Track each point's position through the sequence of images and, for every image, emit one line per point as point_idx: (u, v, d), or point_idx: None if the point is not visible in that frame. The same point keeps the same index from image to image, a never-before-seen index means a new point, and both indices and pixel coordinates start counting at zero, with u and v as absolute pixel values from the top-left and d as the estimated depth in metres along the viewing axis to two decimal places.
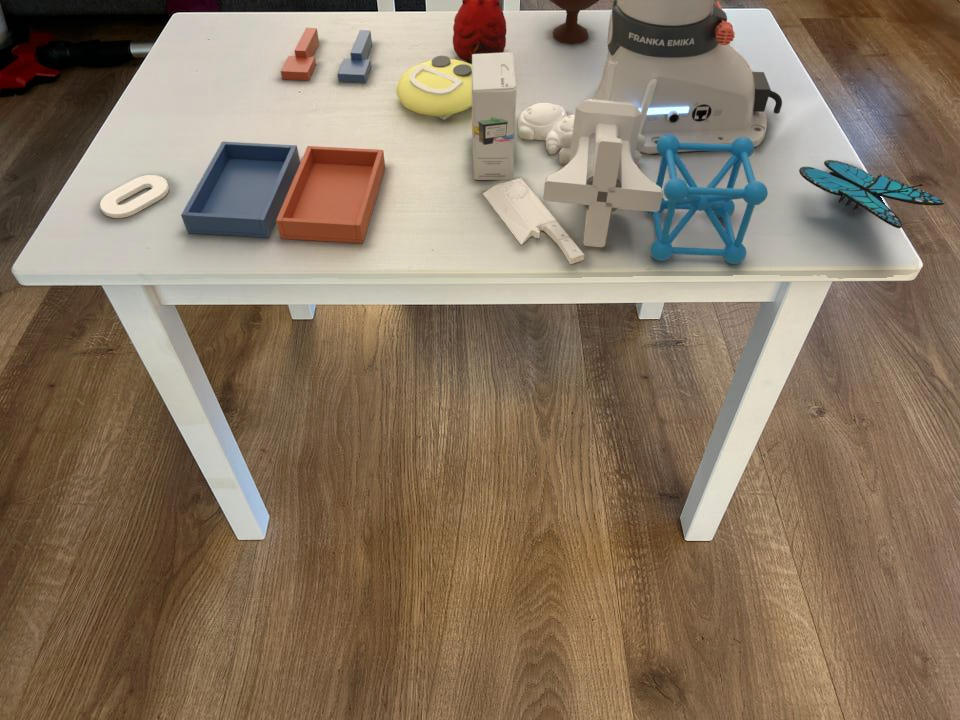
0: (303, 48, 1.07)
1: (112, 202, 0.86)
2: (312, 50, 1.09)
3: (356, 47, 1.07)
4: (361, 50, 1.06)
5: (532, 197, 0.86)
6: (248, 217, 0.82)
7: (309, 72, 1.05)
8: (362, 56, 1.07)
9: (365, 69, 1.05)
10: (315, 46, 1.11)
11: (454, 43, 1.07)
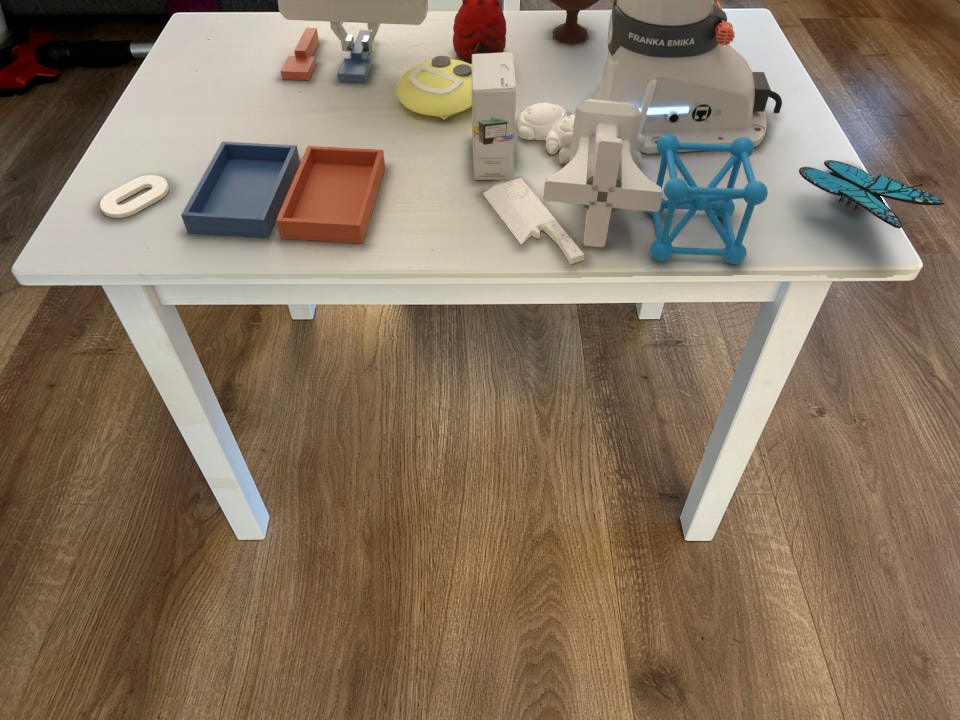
0: (303, 48, 1.07)
1: (112, 202, 0.86)
2: (312, 50, 1.09)
3: (356, 47, 1.07)
4: (361, 50, 1.06)
5: (532, 197, 0.86)
6: (248, 217, 0.82)
7: (309, 72, 1.05)
8: (362, 56, 1.07)
9: (365, 69, 1.05)
10: (315, 46, 1.11)
11: (454, 43, 1.07)
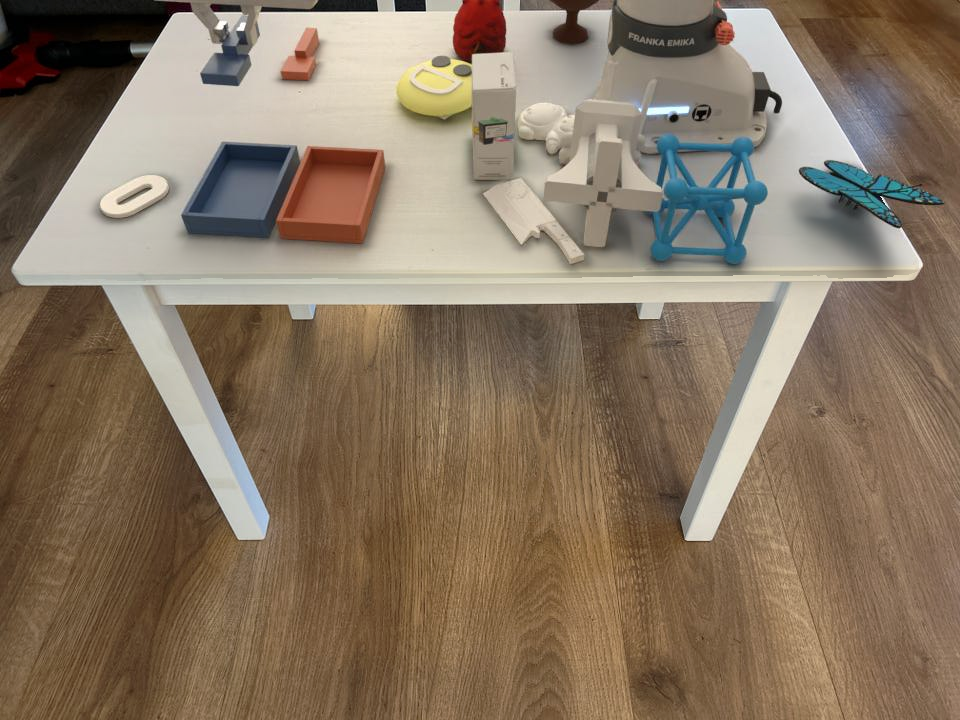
0: (303, 48, 1.07)
1: (112, 202, 0.86)
2: (312, 50, 1.09)
3: (231, 38, 0.80)
4: (237, 42, 0.79)
5: (532, 197, 0.86)
6: (248, 217, 0.82)
7: (309, 72, 1.05)
8: (238, 50, 0.79)
9: (239, 68, 0.77)
10: (315, 46, 1.11)
11: (454, 43, 1.07)
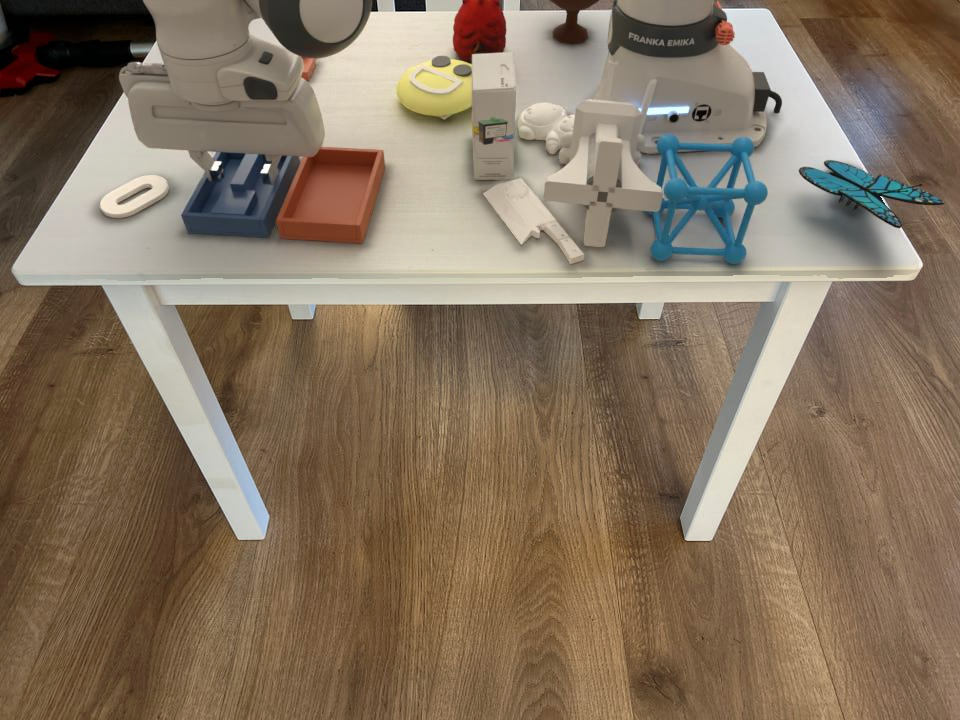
0: None
1: (112, 202, 0.86)
2: None
3: (238, 175, 0.86)
4: (244, 180, 0.86)
5: (532, 197, 0.86)
6: (248, 217, 0.82)
7: (309, 72, 1.05)
8: (245, 187, 0.86)
9: (246, 206, 0.84)
10: None
11: (454, 43, 1.07)
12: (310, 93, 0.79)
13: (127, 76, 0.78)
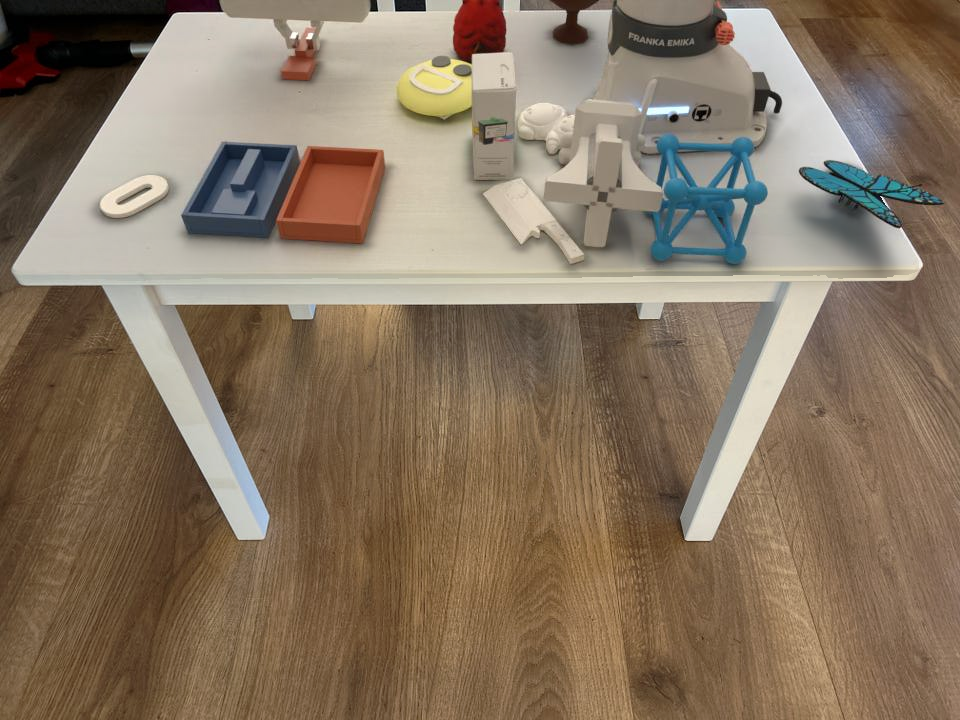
0: (303, 48, 1.07)
1: (112, 202, 0.86)
2: (312, 50, 1.09)
3: (238, 175, 0.86)
4: (244, 180, 0.86)
5: (532, 197, 0.86)
6: (248, 217, 0.82)
7: (309, 72, 1.05)
8: (245, 187, 0.86)
9: (246, 206, 0.84)
10: None
11: (454, 43, 1.07)
12: None
13: None
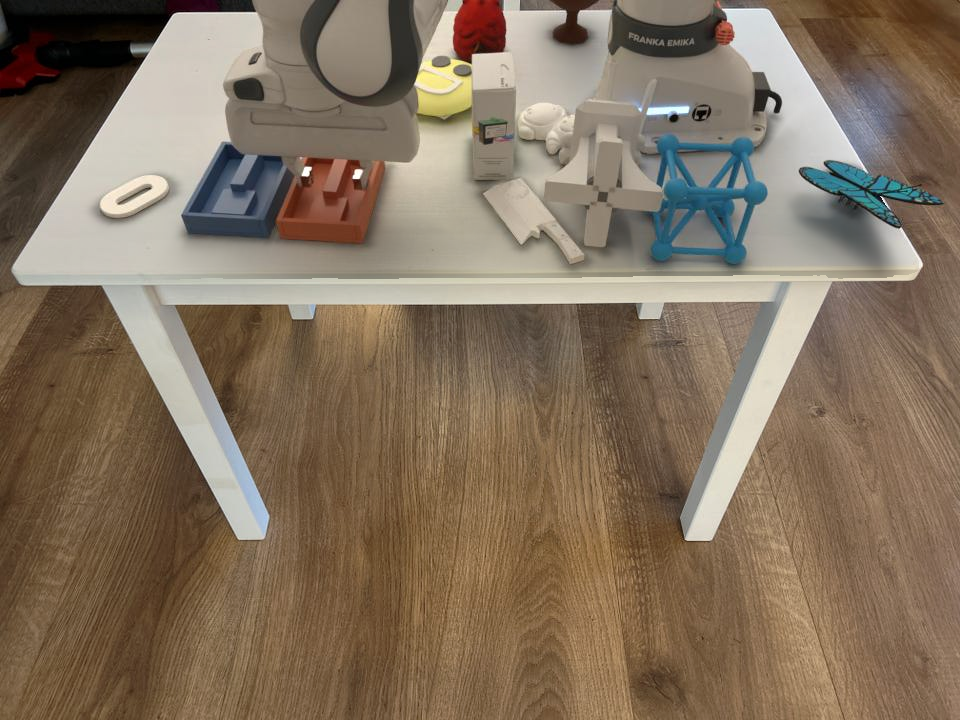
0: (333, 187, 0.85)
1: (112, 202, 0.86)
2: (343, 186, 0.87)
3: (238, 175, 0.86)
4: (244, 180, 0.86)
5: (532, 197, 0.86)
6: (248, 217, 0.82)
7: (341, 220, 0.83)
8: (245, 187, 0.86)
9: (246, 206, 0.84)
10: (347, 179, 0.89)
11: (454, 43, 1.07)
12: None
13: None
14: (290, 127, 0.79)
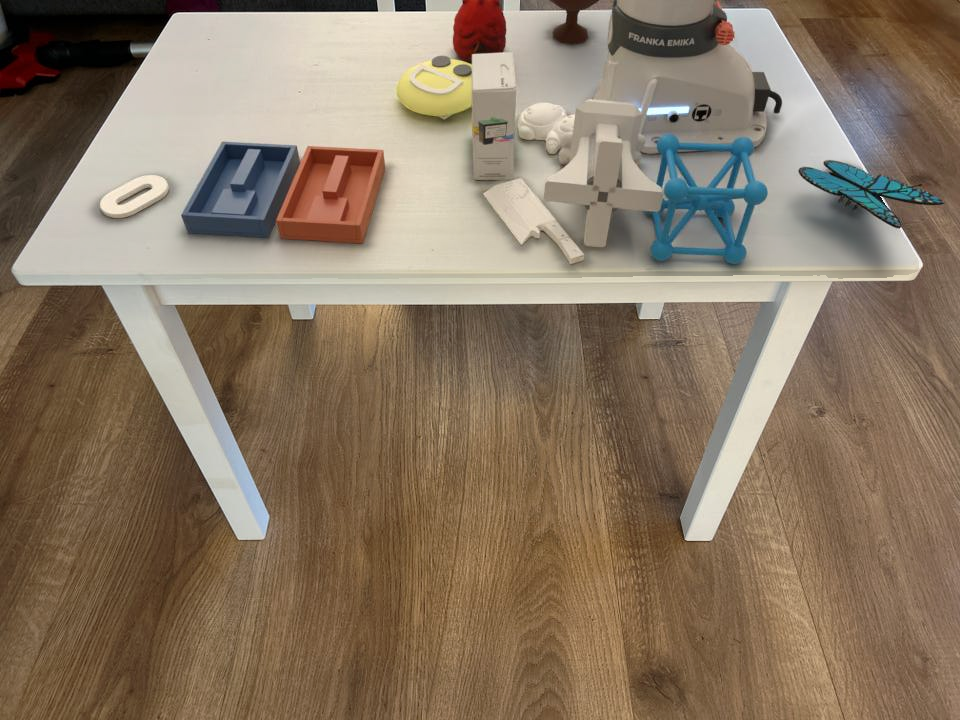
0: (333, 187, 0.85)
1: (112, 202, 0.86)
2: (343, 186, 0.87)
3: (238, 175, 0.86)
4: (244, 180, 0.86)
5: (532, 197, 0.86)
6: (248, 217, 0.82)
7: (341, 220, 0.83)
8: (245, 187, 0.86)
9: (246, 206, 0.84)
10: (347, 179, 0.89)
11: (454, 43, 1.07)
12: None
13: None
14: None
